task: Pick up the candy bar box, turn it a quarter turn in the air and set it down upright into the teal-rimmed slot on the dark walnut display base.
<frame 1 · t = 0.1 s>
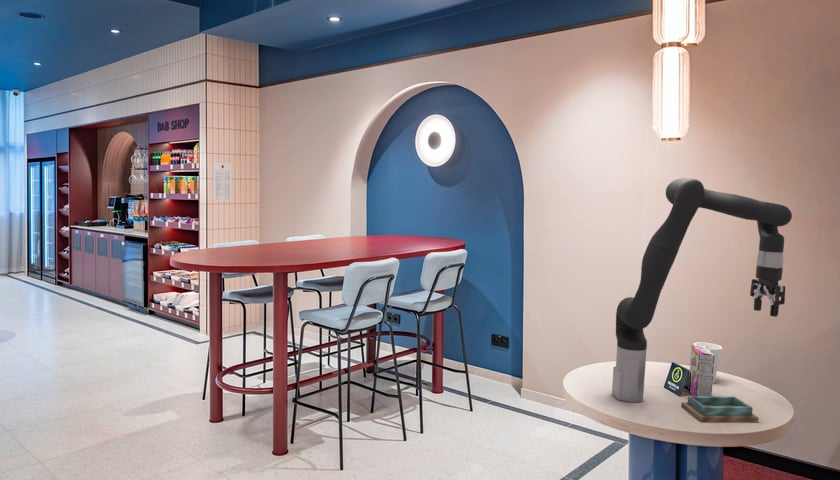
hand: (765, 313, 199), 29 cm above the table, tool pointing down, fingers open, 8 cm apart
candy bar box: (699, 397, 203), on the table
display base: (718, 414, 187), on the table
foam cup: (704, 380, 220), on the table
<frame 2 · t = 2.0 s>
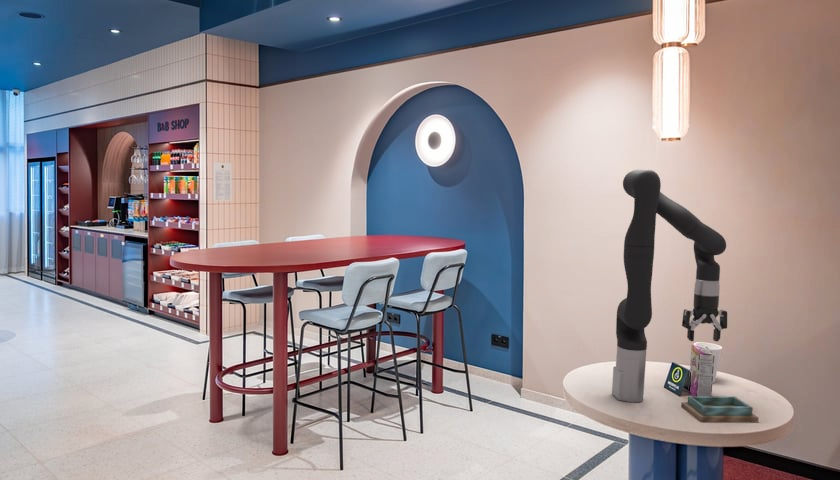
hand: (703, 340, 201), 19 cm above the table, tool pointing down, fingers open, 8 cm apart
nothing on the table moved.
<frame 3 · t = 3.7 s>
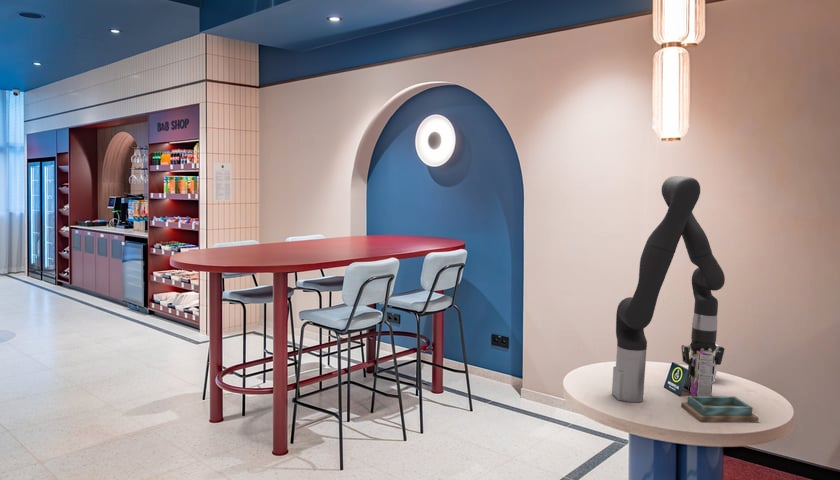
hand: (700, 376, 202), 7 cm above the table, tool pointing down, fingers closed on candy bar box, 5 cm apart
candy bar box: (699, 397, 203), on the table, touching gripper
everything else where it was.
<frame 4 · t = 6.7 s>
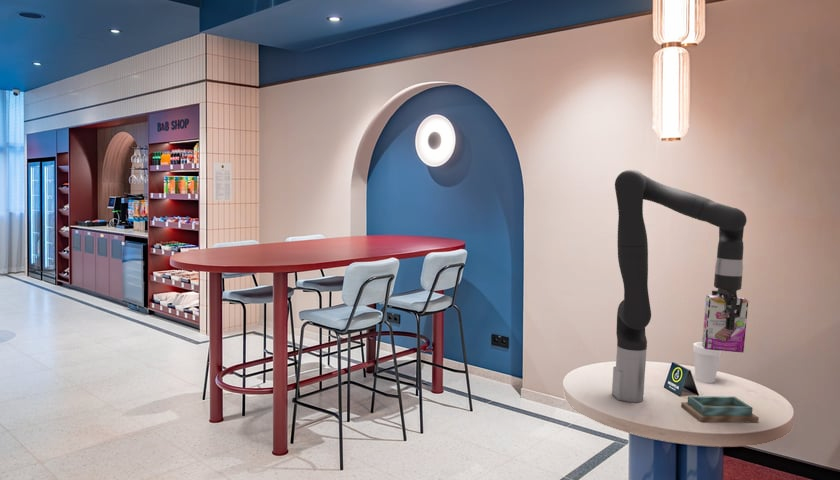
hand: (724, 327, 185), 28 cm above the table, tool pointing down, fingers closed on candy bar box, 5 cm apart
candy bar box: (722, 350, 186), point 20 cm above the table, touching gripper
everything else where it was.
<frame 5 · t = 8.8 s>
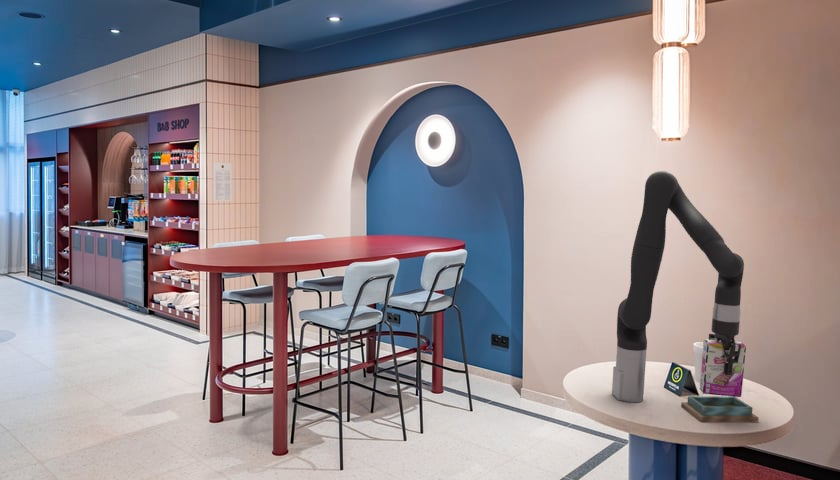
hand: (721, 371, 186), 14 cm above the table, tool pointing down, fingers closed on candy bar box, 5 cm apart
candy bar box: (720, 394, 186), point 6 cm above the table, touching gripper
everything else where it was.
when the fingers open (10 cm above the table, at t = 10.1 s): candy bar box drops 2 cm, resting on display base.
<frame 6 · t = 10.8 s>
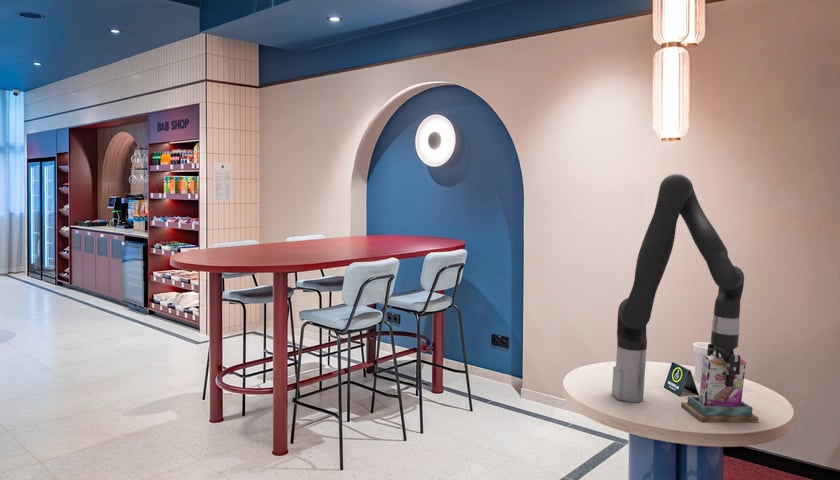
hand: (721, 381, 186), 10 cm above the table, tool pointing down, fingers open, 8 cm apart
candy bar box: (719, 409, 187), point 1 cm above the table, touching display base
everything else where it was.
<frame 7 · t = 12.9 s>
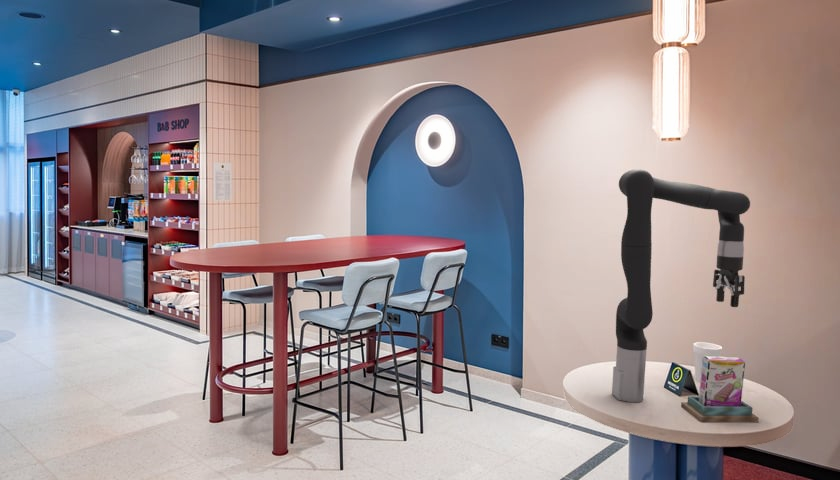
hand: (726, 304, 195), 33 cm above the table, tool pointing down, fingers open, 8 cm apart
nothing on the table moved.
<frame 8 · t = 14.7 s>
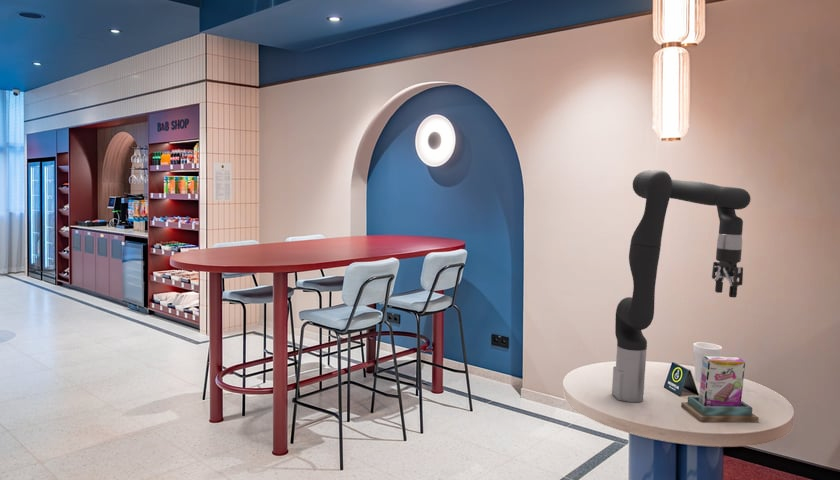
hand: (725, 294, 204), 34 cm above the table, tool pointing down, fingers open, 8 cm apart
nothing on the table moved.
at the end: candy bar box 0.4 cm off-centre on the display base, point 1.3 cm above the display base's base; candy bar box tilted 0°; the gripper is holding nothing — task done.
